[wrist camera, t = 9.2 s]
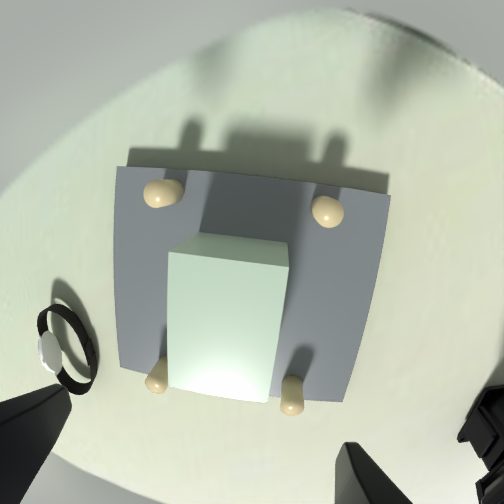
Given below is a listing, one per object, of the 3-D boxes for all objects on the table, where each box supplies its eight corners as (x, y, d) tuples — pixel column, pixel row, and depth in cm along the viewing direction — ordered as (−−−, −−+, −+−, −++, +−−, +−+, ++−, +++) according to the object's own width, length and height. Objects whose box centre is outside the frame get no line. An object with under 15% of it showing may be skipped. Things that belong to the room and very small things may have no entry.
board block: (287, 242, 18) (289, 267, 13) (271, 352, 19) (267, 403, 14) (198, 231, 18) (168, 251, 13) (193, 340, 20) (168, 386, 15)
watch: (42, 301, 22) (15, 317, 18) (82, 298, 21) (54, 316, 18) (72, 379, 24) (51, 401, 20) (112, 383, 23) (93, 408, 19)
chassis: (384, 194, 18) (406, 198, 14) (340, 391, 21) (347, 425, 17) (125, 166, 19) (95, 165, 15) (126, 358, 22) (105, 385, 18)
